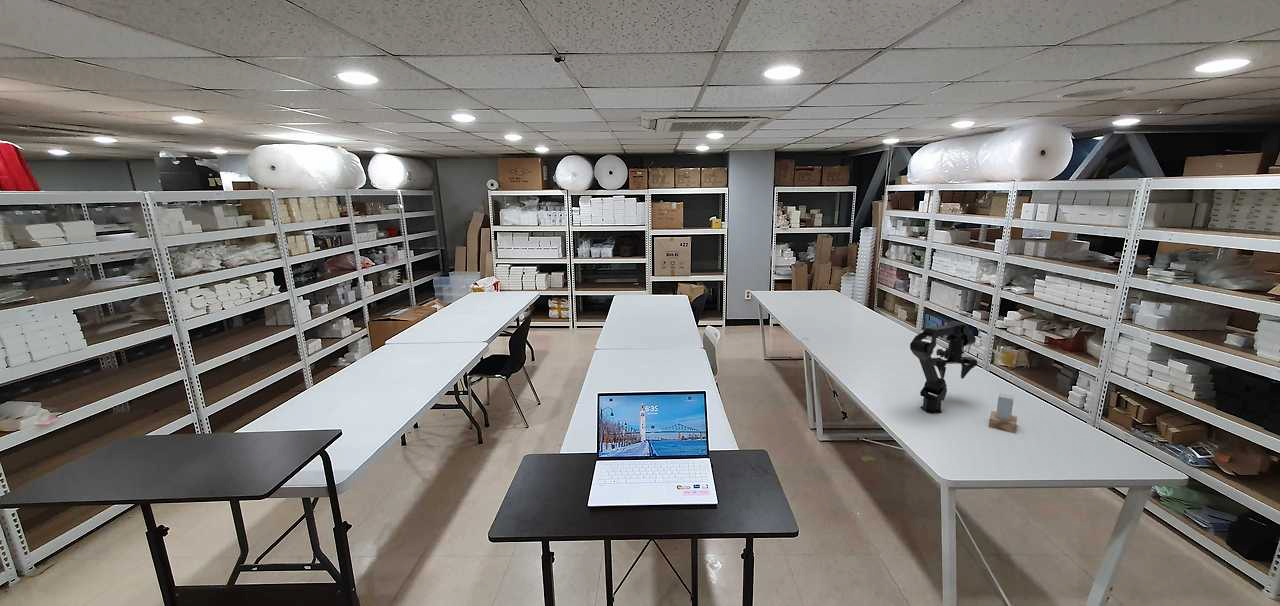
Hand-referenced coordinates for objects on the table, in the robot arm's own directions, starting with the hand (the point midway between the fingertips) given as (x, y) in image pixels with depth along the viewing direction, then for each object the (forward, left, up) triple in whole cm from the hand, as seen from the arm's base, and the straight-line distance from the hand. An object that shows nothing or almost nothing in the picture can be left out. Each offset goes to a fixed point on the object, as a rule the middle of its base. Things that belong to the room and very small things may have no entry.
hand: (952, 378), depth 225 cm
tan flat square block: (+9, -23, -13) cm, 28 cm away
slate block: (+9, -23, -9) cm, 26 cm away
